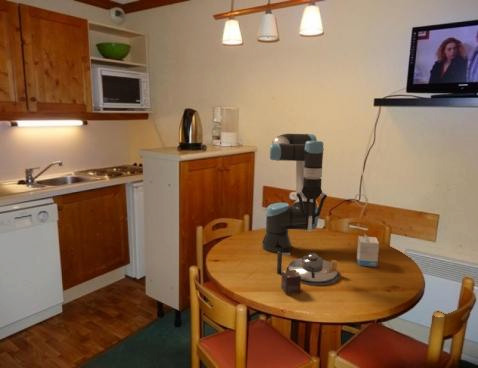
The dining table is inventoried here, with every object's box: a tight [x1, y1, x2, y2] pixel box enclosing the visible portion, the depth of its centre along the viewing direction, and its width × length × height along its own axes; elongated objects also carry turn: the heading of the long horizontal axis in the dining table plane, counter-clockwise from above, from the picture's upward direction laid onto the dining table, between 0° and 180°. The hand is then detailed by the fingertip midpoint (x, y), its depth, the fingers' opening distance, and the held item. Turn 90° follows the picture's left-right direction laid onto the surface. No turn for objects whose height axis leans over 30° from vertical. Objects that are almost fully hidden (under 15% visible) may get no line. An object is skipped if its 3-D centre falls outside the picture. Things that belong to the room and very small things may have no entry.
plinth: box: [285, 265, 340, 287], centre depth 154 cm, size 23×23×1 cm
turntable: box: [288, 257, 338, 283], centre depth 153 cm, size 21×21×6 cm
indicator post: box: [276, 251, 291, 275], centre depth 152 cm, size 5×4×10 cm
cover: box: [301, 252, 324, 272], centre depth 153 cm, size 9×9×6 cm
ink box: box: [356, 233, 380, 268], centre depth 164 cm, size 9×8×13 cm
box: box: [280, 270, 302, 296], centre depth 138 cm, size 6×6×7 cm
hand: (309, 231), depth 150 cm, fingers closed
